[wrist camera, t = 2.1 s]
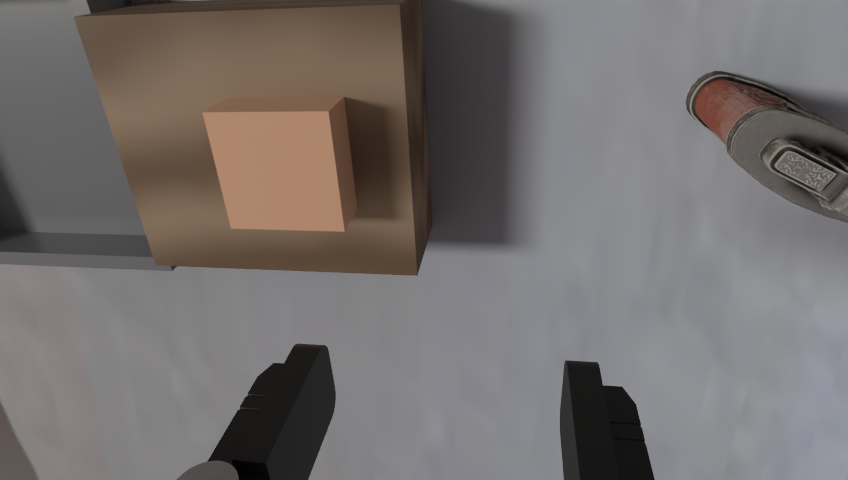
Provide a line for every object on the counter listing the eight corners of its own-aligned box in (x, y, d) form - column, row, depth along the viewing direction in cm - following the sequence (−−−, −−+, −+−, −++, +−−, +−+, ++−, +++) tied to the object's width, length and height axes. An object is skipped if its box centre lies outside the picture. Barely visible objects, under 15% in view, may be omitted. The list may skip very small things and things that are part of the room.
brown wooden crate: (146, 3, 32) (73, 16, 27) (420, -9, 29) (399, 4, 24) (204, 220, 38) (155, 265, 33) (431, 226, 36) (417, 275, 31)
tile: (227, 98, 27) (202, 112, 25) (343, 96, 26) (328, 111, 24) (251, 207, 30) (231, 228, 28) (357, 209, 29) (344, 231, 27)
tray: (-119, -22, 33) (-182, -18, 30) (119, -35, 31) (76, -32, 28) (4, 238, 42) (-36, 262, 39) (198, 245, 40) (172, 270, 36)
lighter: (842, 124, 29) (977, 205, 21) (795, 177, 31) (902, 271, 22) (712, 56, 29) (795, 109, 20) (671, 113, 30) (732, 185, 22)
